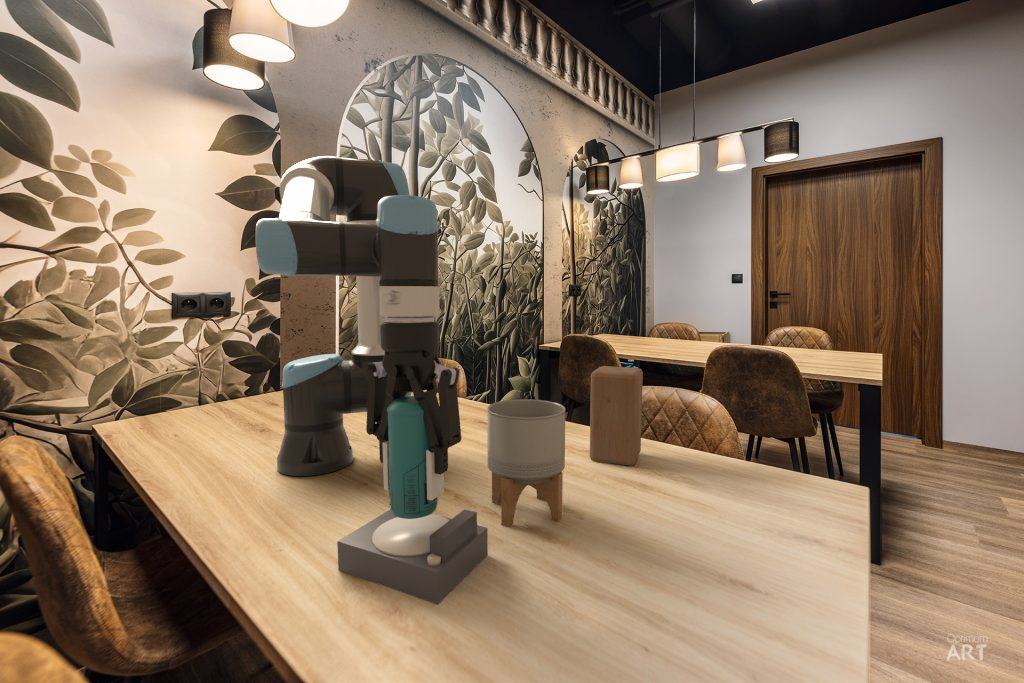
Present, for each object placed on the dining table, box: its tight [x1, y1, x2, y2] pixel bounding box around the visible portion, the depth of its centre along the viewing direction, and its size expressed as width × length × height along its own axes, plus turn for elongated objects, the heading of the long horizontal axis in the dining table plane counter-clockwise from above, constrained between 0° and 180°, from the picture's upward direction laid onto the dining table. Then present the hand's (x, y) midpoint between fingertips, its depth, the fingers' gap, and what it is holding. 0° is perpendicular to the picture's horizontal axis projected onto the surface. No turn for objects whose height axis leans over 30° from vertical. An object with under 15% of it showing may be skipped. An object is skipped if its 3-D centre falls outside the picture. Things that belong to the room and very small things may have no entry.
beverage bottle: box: [387, 375, 439, 519], centre depth 63 cm, size 6×7×20 cm
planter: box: [486, 398, 566, 528], centre depth 80 cm, size 13×13×18 cm
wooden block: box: [589, 365, 644, 466], centre depth 106 cm, size 10×10×20 cm
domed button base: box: [336, 509, 489, 605], centre depth 65 cm, size 16×12×7 cm
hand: (413, 490), depth 64 cm, fingers closed on beverage bottle, 6 cm apart
